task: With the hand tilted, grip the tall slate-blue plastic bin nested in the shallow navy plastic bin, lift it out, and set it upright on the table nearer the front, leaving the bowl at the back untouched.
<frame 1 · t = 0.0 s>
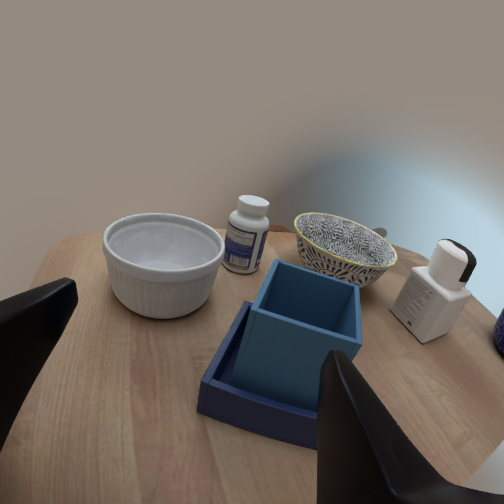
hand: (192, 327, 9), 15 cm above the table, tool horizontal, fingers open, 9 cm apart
ramekin: (160, 290, 33), on the table
navy bin: (273, 387, 24), on the table, touching blue bin
blue bin: (275, 384, 24), point 1 cm above the table, touching navy bin
bowl: (330, 280, 44), on the table
pill bottle: (239, 265, 42), on the table
container: (418, 323, 38), on the table
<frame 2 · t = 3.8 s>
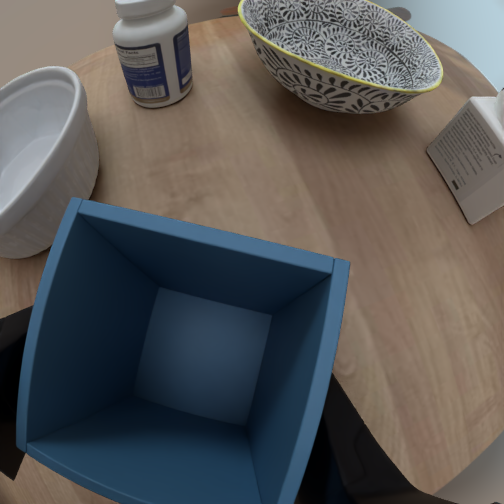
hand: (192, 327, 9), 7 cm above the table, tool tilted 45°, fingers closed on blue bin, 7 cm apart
ramekin: (41, 190, 18), on the table
blue bin: (201, 357, 15), point 1 cm above the table, touching gripper, navy bin
bowl: (324, 88, 23), on the table
pill bottle: (161, 90, 21), on the table
container: (466, 178, 21), on the table
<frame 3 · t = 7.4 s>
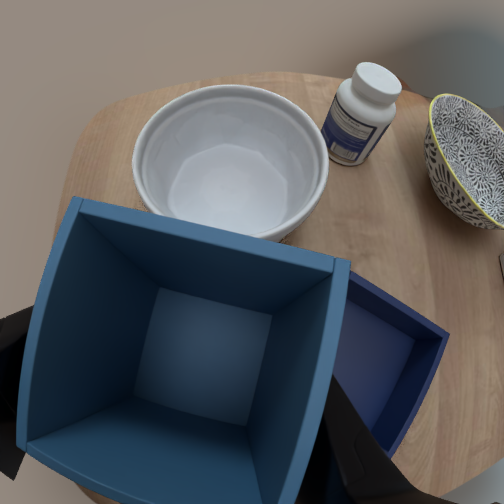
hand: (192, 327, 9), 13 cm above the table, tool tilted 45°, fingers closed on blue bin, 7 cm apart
ramekin: (230, 196, 25), on the table
navy bin: (348, 367, 21), on the table
blue bin: (201, 357, 15), point 6 cm above the table, touching gripper
bowl: (450, 188, 28), on the table
pill bottle: (342, 146, 28), on the table
when the fingers open (7 cm above the table, at t = 11.0 s): blue bin stays where it is, on the table.
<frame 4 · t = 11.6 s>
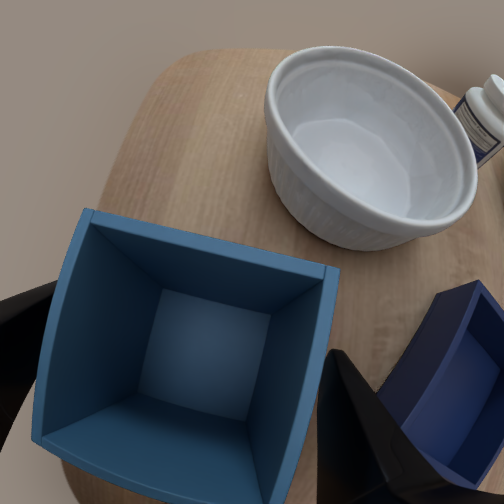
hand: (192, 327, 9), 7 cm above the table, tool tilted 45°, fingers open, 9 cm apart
ramekin: (347, 179, 20), on the table
navy bin: (444, 393, 15), on the table
blue bin: (203, 355, 16), on the table
pill bottle: (450, 155, 22), on the table
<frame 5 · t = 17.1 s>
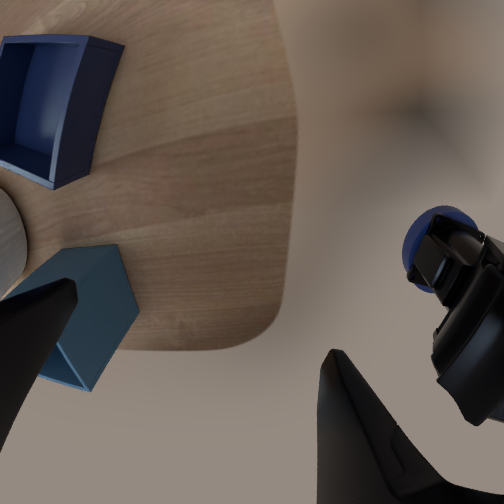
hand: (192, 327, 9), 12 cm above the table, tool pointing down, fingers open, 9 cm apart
ramekin: (2, 228, 24), on the table
navy bin: (57, 99, 17), on the table
blue bin: (98, 280, 25), on the table
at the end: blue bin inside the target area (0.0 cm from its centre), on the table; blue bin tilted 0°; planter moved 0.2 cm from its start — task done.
